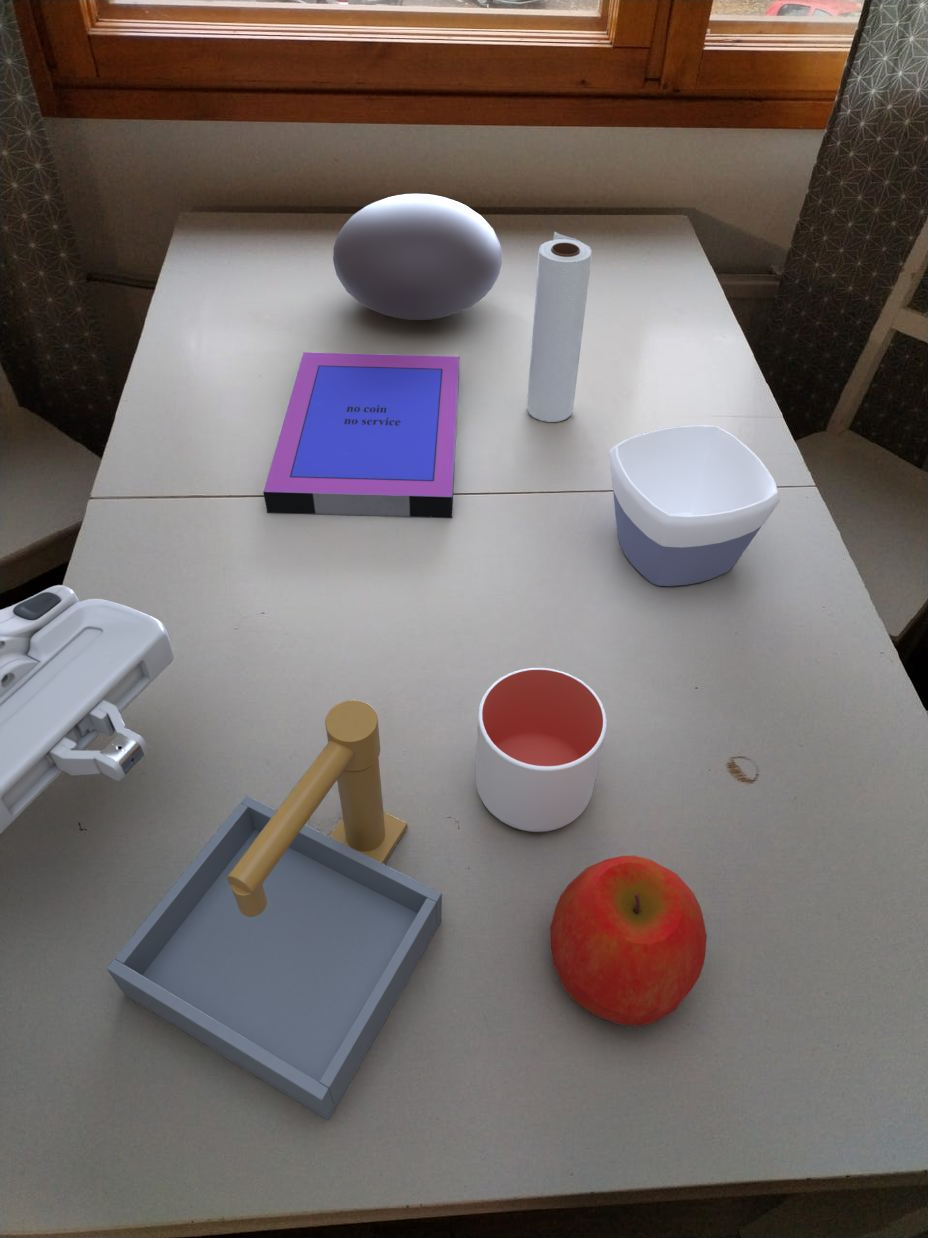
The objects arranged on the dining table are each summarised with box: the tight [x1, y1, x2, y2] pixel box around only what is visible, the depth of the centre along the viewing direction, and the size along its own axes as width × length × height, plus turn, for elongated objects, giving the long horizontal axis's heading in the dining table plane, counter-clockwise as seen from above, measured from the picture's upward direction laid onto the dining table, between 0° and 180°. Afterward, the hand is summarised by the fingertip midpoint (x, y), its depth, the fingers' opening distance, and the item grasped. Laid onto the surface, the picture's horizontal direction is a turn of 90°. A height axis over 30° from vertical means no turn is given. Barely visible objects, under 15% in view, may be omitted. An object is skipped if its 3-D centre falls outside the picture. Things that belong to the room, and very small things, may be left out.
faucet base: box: [329, 757, 408, 865], centre depth 68 cm, size 5×5×12 cm
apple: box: [549, 855, 708, 1027], centre depth 62 cm, size 11×11×11 cm
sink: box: [106, 795, 443, 1121], centre depth 64 cm, size 16×18×4 cm
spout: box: [227, 699, 381, 917], centre depth 59 cm, size 15×4×5 cm, turn 153°
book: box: [262, 351, 461, 519], centre depth 110 cm, size 21×3×30 cm
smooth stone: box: [332, 193, 503, 321], centre depth 130 cm, size 25×25×15 cm
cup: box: [475, 667, 608, 833], centre depth 73 cm, size 10×10×10 cm
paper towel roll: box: [526, 231, 593, 423], centre depth 109 cm, size 7×6×21 cm
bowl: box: [608, 424, 781, 587], centre depth 94 cm, size 15×15×11 cm
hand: (133, 760), depth 61 cm, fingers closed
